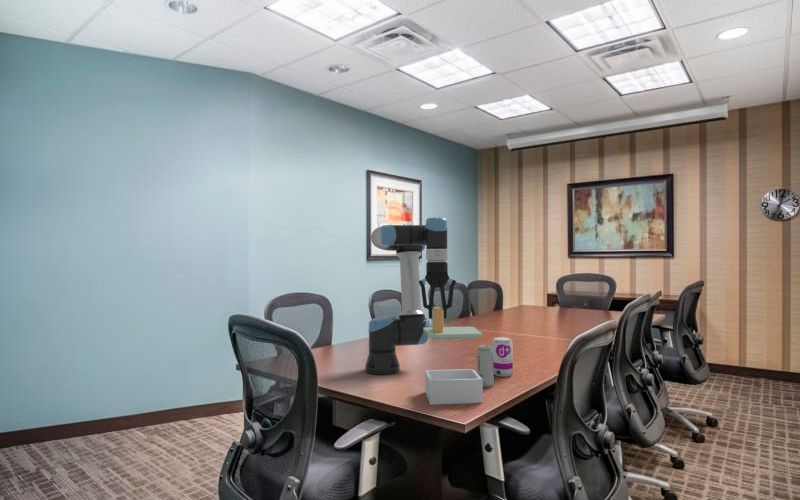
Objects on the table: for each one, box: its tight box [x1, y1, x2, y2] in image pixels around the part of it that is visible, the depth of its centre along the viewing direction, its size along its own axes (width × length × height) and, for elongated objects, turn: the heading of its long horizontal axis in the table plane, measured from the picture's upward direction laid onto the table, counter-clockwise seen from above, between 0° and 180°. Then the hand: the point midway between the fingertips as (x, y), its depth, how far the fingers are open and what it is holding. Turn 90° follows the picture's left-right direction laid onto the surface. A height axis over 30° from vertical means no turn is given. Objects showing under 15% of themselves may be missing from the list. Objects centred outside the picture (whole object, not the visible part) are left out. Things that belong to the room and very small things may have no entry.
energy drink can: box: [476, 344, 495, 388], centre depth 174 cm, size 6×6×15 cm
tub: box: [424, 368, 484, 405], centre depth 160 cm, size 18×14×8 cm
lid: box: [423, 306, 484, 341], centre depth 160 cm, size 19×15×10 cm
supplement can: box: [491, 336, 514, 378], centre depth 189 cm, size 8×8×15 cm
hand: (437, 327), depth 160 cm, fingers closed on lid, 2 cm apart
